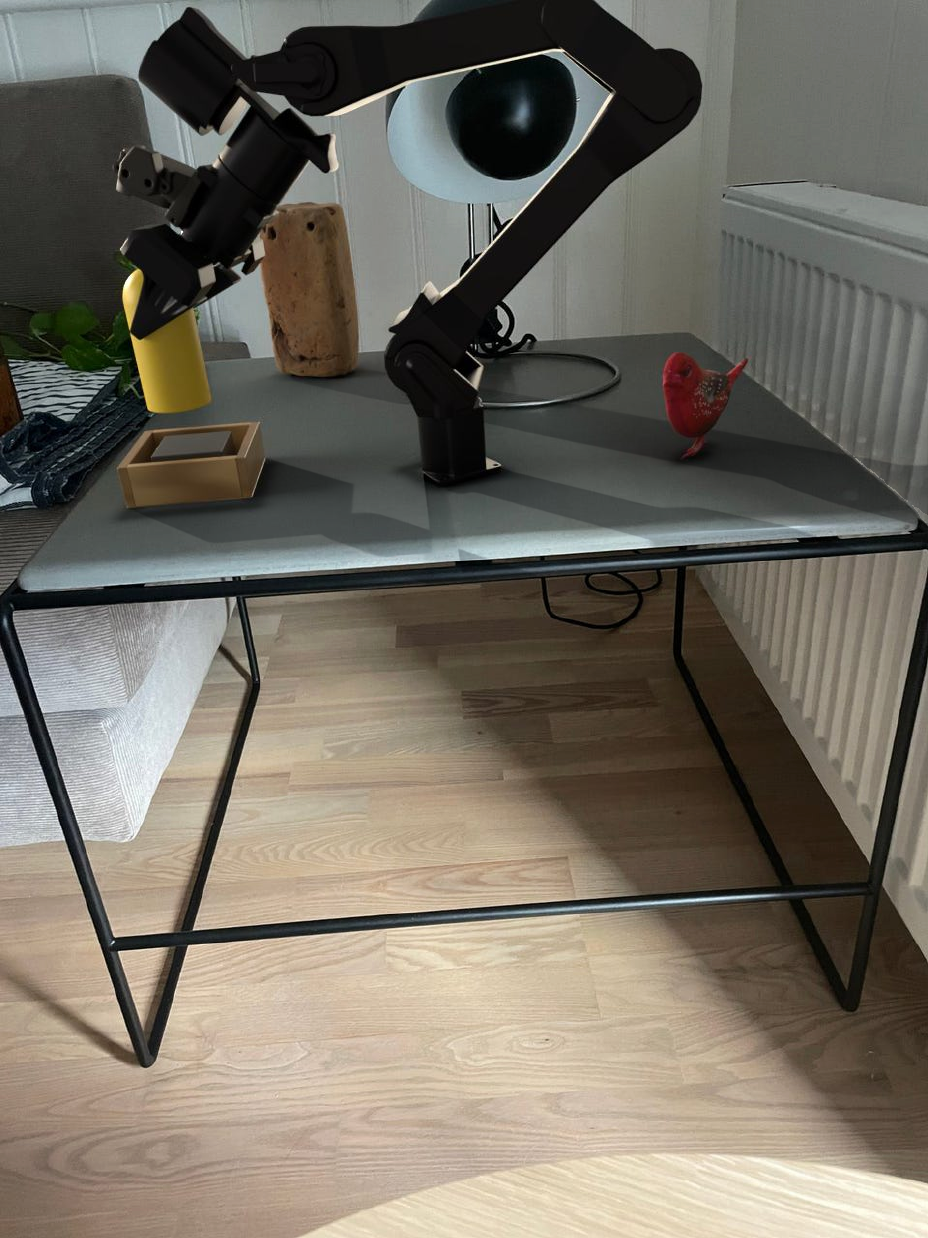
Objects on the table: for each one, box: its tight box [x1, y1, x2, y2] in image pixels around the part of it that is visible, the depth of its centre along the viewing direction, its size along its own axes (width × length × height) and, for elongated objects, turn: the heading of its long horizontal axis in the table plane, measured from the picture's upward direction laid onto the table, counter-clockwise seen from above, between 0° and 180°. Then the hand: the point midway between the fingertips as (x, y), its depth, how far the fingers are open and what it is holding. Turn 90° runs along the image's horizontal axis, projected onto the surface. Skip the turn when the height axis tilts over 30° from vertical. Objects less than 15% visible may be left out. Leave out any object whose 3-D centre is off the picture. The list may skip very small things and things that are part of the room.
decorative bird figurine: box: [662, 351, 749, 460], centre depth 84 cm, size 3×18×10 cm, turn 143°
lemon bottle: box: [122, 268, 212, 414], centre depth 81 cm, size 6×6×13 cm
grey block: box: [151, 431, 236, 462], centre depth 84 cm, size 6×6×4 cm
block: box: [258, 201, 360, 378], centre depth 117 cm, size 11×8×20 cm
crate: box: [116, 421, 266, 509], centre depth 84 cm, size 11×11×4 cm
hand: (148, 328), depth 81 cm, fingers closed on lemon bottle, 5 cm apart
